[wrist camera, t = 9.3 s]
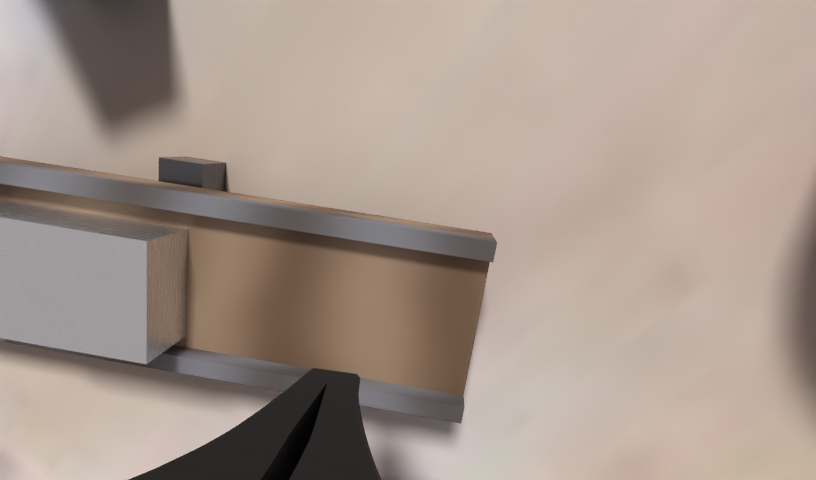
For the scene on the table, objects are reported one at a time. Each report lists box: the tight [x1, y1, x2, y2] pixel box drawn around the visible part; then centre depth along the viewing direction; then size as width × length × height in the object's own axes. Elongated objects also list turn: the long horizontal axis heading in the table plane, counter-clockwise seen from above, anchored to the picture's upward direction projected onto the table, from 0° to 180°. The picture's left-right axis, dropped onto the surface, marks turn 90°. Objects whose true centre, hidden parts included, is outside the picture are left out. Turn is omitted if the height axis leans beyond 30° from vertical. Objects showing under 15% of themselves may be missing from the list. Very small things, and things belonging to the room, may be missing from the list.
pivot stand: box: [159, 157, 225, 191], centre depth 20 cm, size 2×10×2 cm, turn 172°
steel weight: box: [0, 200, 188, 364], centre depth 17 cm, size 8×5×2 cm, turn 82°
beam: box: [0, 156, 497, 423], centre depth 18 cm, size 28×8×2 cm, turn 82°
